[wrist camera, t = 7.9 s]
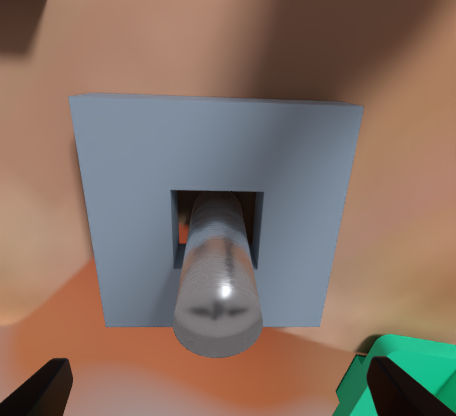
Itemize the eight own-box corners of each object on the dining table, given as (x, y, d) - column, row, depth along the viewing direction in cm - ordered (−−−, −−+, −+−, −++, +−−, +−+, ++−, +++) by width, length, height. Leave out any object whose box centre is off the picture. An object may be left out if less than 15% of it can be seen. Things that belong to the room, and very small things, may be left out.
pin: (242, 188, 20) (266, 289, 10) (240, 232, 21) (259, 357, 12) (192, 187, 19) (170, 288, 10) (192, 232, 21) (174, 358, 11)
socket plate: (340, 101, 18) (363, 106, 15) (307, 296, 23) (319, 326, 20) (92, 92, 17) (68, 96, 14) (119, 296, 22) (105, 327, 20)
